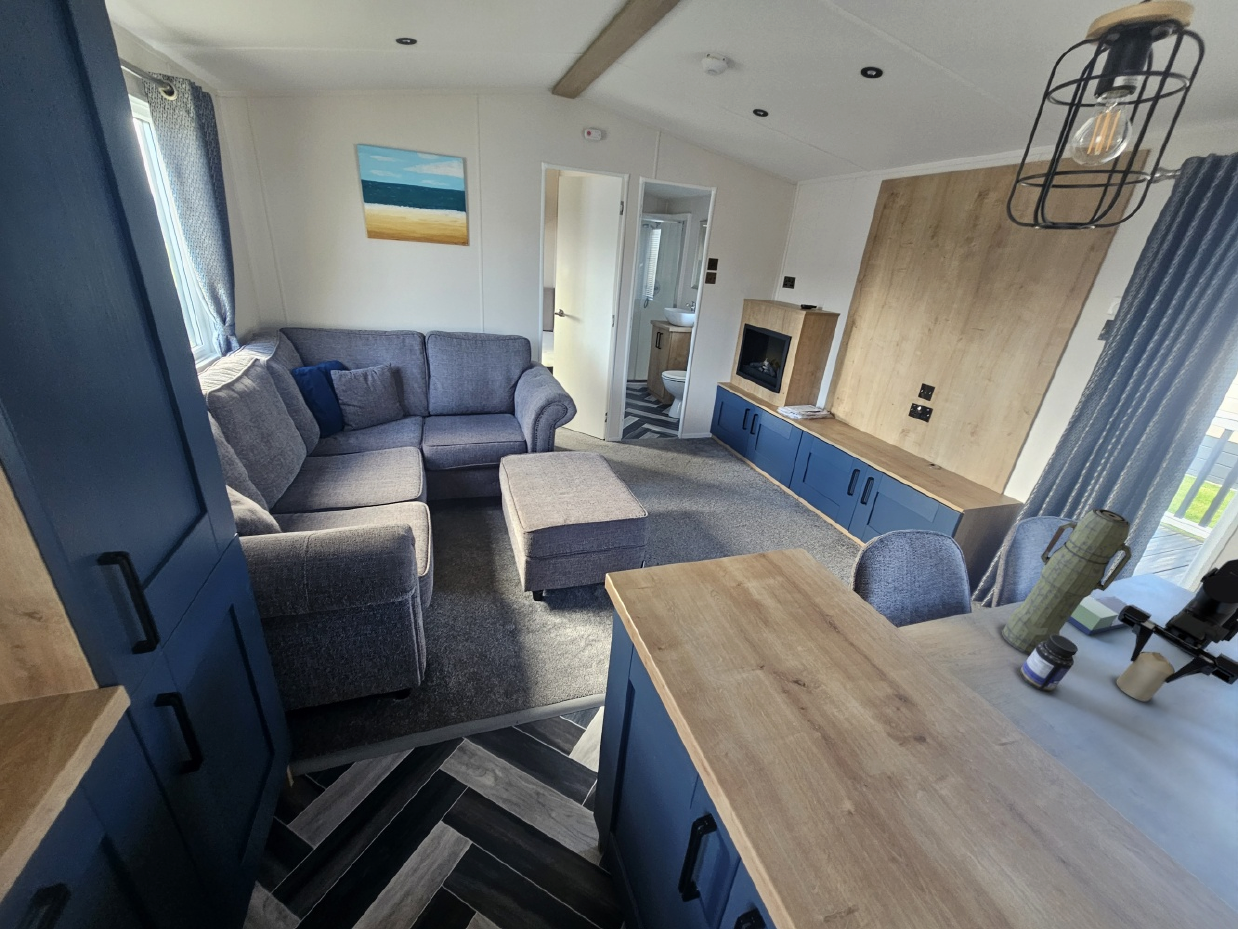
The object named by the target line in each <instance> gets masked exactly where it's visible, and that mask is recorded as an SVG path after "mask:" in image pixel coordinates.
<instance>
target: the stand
mask: <svg viewBox="0 0 1238 929" xmlns="http://www.w3.org/2000/svg"><path fill="white" fill-rule="evenodd" d="M1126 605H1128V603H1126V602H1124V601H1122V599H1119V598H1117V597H1116V596H1109V597H1104V598H1103V597H1102V598H1099V599H1098V598H1097V599H1095V598H1094V597H1092V596H1091V595H1089V596H1087V597H1085V598H1084V599H1083V600H1082V601H1081V603H1080V604H1079V605H1078V607H1077V608H1076V609H1075V611H1074V612H1073V613H1072V615H1071V616H1070V617H1069V619H1068V620H1067V621H1066V622H1069V623H1070V624H1072V625H1073V626H1075V627H1076V628H1077V629H1079V630H1080V631H1082V632H1083V633H1084V634H1086V635H1087V636H1090V635H1094V634H1098V633H1103V632H1107V631H1111V630H1116V629H1120V628H1124V627H1128V626H1127V625H1126V624H1124V623H1122V622H1120V621H1119V620H1118V616H1119V614H1120V612H1121V610H1122V609H1123V608H1124V607H1125V606H1126Z"/></svg>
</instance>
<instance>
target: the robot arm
mask: <svg viewBox="0 0 1238 929" xmlns="http://www.w3.org/2000/svg"><path fill="white" fill-rule="evenodd" d="M1199 582H1200V583H1202V584H1201V585H1200V587H1199V588H1198V590H1197V591H1196V593H1195V595H1194V597H1193V598H1192V599H1191V600H1190V601H1189V602H1188V603H1186V605H1185V606H1184V607H1183V608H1182V609H1181V610H1180V611H1179V612H1178V613H1177V614H1174V615H1173V616H1172V617H1171V618H1170V619H1169V620H1168V621H1167V622H1166V623H1165V625H1164V627H1162V626H1161V625H1159V624H1157V623H1156V622H1155V621H1153V620H1151V617H1152V614H1151V613H1149V612H1147V611H1145V610H1144V609H1142V608H1140V607H1139V606H1137V605H1134V604H1133V603H1132V604H1127V605H1126V606H1125V607H1124V608H1123V609H1122V610H1121V612H1120V614H1119V616H1118V620H1119V621H1120V622H1122V623H1124V624H1126V625H1127V626H1126V627H1129V628H1131V633H1133V634H1134V635H1135V644H1134V648H1133V651H1132V654H1131V657H1130V662H1131V663H1132V662H1133V661H1134V660H1135V659H1136V658H1137V656H1138V655H1139V654H1140V653H1141V652H1143V649H1144V648H1145V647H1146V645H1147V643H1148V642H1149V641H1150V639H1151V637H1152V635H1153V634H1154V635H1156V636H1158V637H1159V638H1161V639H1163V640H1165V641H1167V642H1168V643H1170V644H1172V645H1173V646H1175V647H1177V648H1178V649H1181V650H1183V651H1184V652H1186V653H1188V654H1189V655H1191V656H1192V657H1194V658H1193V659H1191V660H1190V661H1189V662H1188V663H1187V664H1185V665H1183V666H1182V667H1181V668H1179V669H1178V670H1176V671H1175V673H1174V674H1172V675H1171V676H1170V677H1169V678H1168V679H1167V680H1166V681H1165V684H1170V683H1173V682H1175V681H1178V680H1181V679H1183V678H1185V677H1189V676H1194V675H1198V674H1203V675H1204V676H1208V677H1209V676H1210V675H1212V676H1214V677H1216V678H1217V679H1219V680H1221V682H1224V683H1226V684H1229V685H1233V684H1234V683H1236V682H1237V681H1238V661H1237V660H1235V659H1233V658H1231V657H1229V656H1228V655H1226V654H1224V653H1222V652H1221V653H1219V655H1217V656H1215V655H1213V654H1211V653H1210V650H1209V649H1207V647H1209V645H1210V644H1212V642H1213V643H1214V644H1216V645H1217V644H1219V643H1220V642H1224V641H1225V642H1230V641H1231V640H1232V639H1233V638H1234V637H1235V636H1236V635H1237V634H1238V558H1233V559H1228V560H1227V561H1225V562H1224V563H1223V564H1222V565H1221V566H1220V567H1216V566H1214V567H1213V568H1212V569H1210V570H1208V572H1207V573H1205V574H1204V575H1203V576H1202V577H1201V579H1200V581H1199Z"/></svg>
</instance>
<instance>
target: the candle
mask: <svg viewBox="0 0 1238 929" xmlns="http://www.w3.org/2000/svg"><path fill="white" fill-rule="evenodd" d="M1175 672H1176V670H1175V667H1174V666H1173V664H1172V663H1171V662H1170V661H1169V660H1168V658H1167V657H1165V656H1164V655H1163V654H1162V653H1160V652H1156V651H1141V652H1140V654H1139V655H1138V656H1137V658H1136V659H1135V660H1134V661H1133V662H1132V661H1131V663H1130V664H1129V665H1128V666H1127V668H1126V669H1125V670H1124V671H1123V673H1122V674H1120V675H1119V677H1118V678H1117V679H1116V685H1117V687H1118V688H1119V689H1120V690H1121V692H1124V693H1125V694H1126V695H1127V696H1129V697H1131V698H1133V699H1135V700H1137V701H1140V702H1148V701H1150V699H1152V697H1153V696H1154V695H1155V694H1157V693H1158V691H1159V690H1160V689H1161V688H1162V687H1163V686H1164V685H1165V684H1166V682H1165V681H1166V680H1167V679H1168V678H1169V677H1170V676H1171V675H1172V674H1174V673H1175Z"/></svg>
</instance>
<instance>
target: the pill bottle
mask: <svg viewBox="0 0 1238 929" xmlns="http://www.w3.org/2000/svg"><path fill="white" fill-rule="evenodd" d="M1078 651H1079V648H1078V646H1077V645H1076V644H1075V643H1074V642H1073V641H1072V640H1071V639H1069V638H1067V637H1066V636H1063V635H1061V634H1059V635H1057V634H1051V635H1050V636H1049V638H1048V639H1047V642H1046V641H1044V642H1040V643H1039V644H1038V645H1037V647H1036V648H1035V649H1034V651H1033V652H1032V654H1031V655H1028V657H1027V659H1026V660H1025V662H1024V663H1023V664H1022V666H1021V667H1020V669H1019V673H1020V676H1021V677H1022V679H1023V680H1024V681H1025V682H1026V683H1027V684H1029V685H1030V686H1031V687H1032V688H1035V689H1036V690H1040V691H1043V692H1053V691H1054V690H1055V689H1056V687H1057V686H1058V685H1059V684H1060V682H1061V681H1062V680H1063V679H1064V677H1065V676H1066V675H1067V673H1068V672H1069V671H1070V670H1071V669H1072V667H1073V666H1074V664H1075V659H1074V656H1075V655H1077V653H1078Z"/></svg>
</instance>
